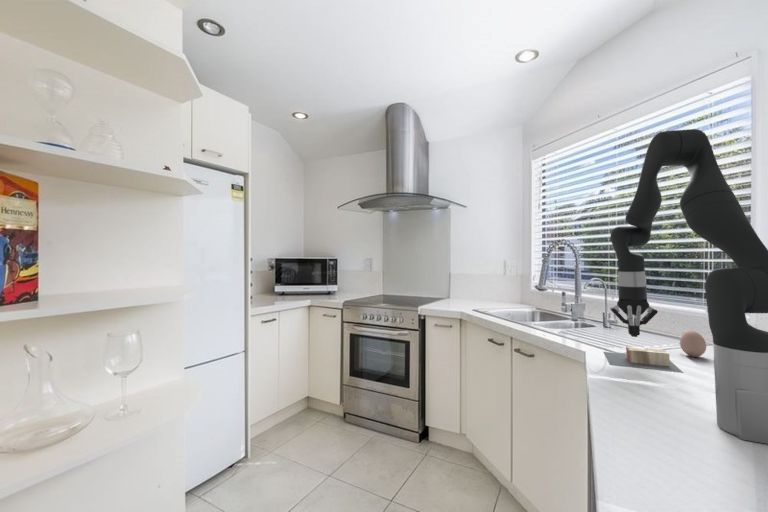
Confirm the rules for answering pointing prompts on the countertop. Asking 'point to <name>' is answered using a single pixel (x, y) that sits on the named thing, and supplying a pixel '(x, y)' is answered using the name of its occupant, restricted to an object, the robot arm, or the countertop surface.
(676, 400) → the countertop surface
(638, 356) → the birch block
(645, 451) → the countertop surface
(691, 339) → the egg
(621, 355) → the rubber mat
